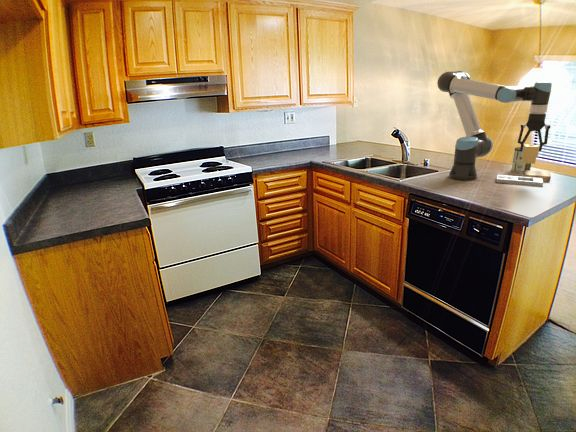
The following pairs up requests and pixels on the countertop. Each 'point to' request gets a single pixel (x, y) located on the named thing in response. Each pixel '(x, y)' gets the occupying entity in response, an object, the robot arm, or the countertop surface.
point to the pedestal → (538, 174)
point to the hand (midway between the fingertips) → (529, 156)
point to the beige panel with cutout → (519, 180)
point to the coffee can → (519, 162)
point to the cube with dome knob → (530, 154)
